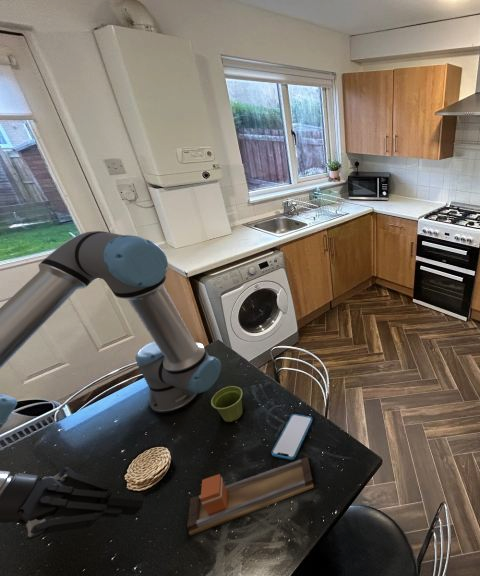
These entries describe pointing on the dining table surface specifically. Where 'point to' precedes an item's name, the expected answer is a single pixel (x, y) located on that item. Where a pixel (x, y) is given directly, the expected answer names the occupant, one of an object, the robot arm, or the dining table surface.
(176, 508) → the dining table surface
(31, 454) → the dining table surface
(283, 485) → the rail
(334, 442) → the dining table surface
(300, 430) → the smartphone
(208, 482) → the orange block
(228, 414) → the plant pot
